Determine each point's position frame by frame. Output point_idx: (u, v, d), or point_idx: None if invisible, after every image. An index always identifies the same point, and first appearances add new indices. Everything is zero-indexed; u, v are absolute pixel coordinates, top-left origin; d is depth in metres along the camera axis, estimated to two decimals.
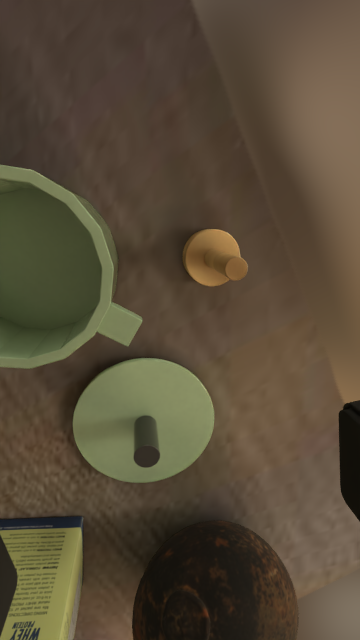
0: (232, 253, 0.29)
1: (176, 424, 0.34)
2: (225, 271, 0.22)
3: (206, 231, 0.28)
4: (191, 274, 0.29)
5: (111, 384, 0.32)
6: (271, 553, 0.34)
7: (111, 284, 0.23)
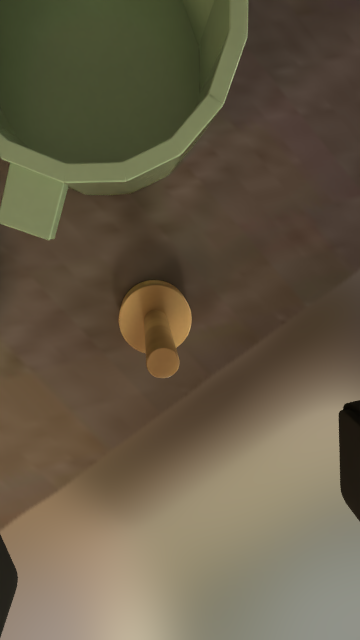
0: None
1: None
2: (156, 349, 0.15)
3: (187, 305, 0.22)
4: (129, 297, 0.22)
5: None
6: None
7: (98, 180, 0.14)
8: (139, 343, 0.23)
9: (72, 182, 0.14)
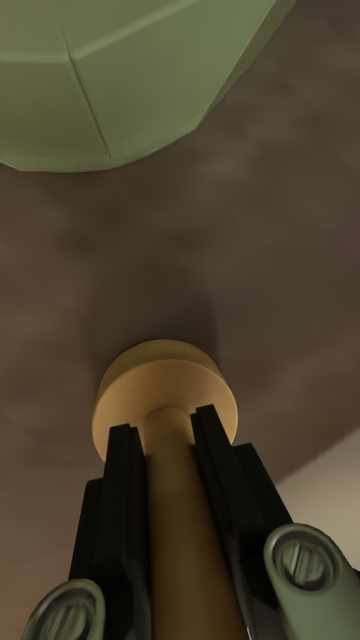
0: None
1: None
2: None
3: (230, 395, 0.11)
4: (113, 386, 0.10)
5: None
6: None
7: None
8: None
9: None
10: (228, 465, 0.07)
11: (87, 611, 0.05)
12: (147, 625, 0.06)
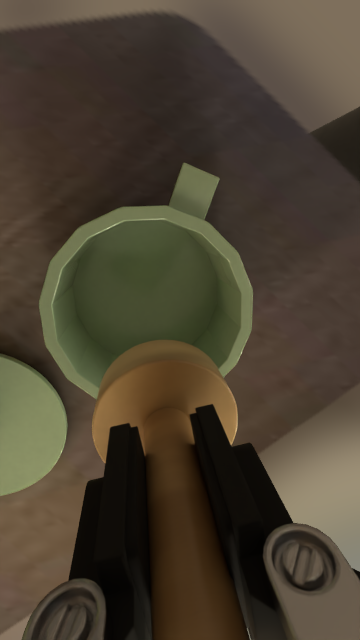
0: None
1: None
2: None
3: (230, 395, 0.11)
4: (113, 386, 0.10)
5: (24, 386, 0.28)
6: None
7: None
8: None
9: None
10: (228, 465, 0.07)
11: (88, 611, 0.05)
12: (148, 625, 0.06)
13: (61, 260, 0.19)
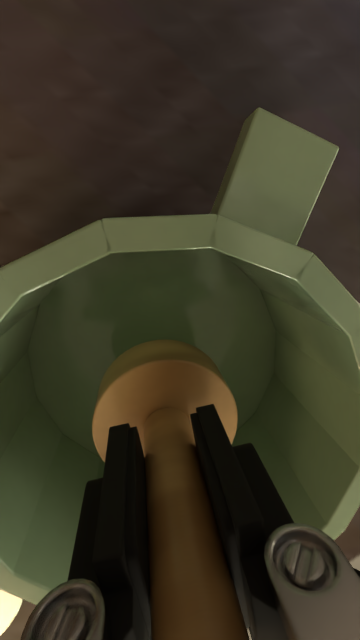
0: None
1: None
2: None
3: (230, 395, 0.11)
4: (113, 386, 0.10)
5: None
6: None
7: None
8: None
9: None
10: (229, 465, 0.07)
11: (87, 611, 0.05)
12: (147, 625, 0.06)
13: None
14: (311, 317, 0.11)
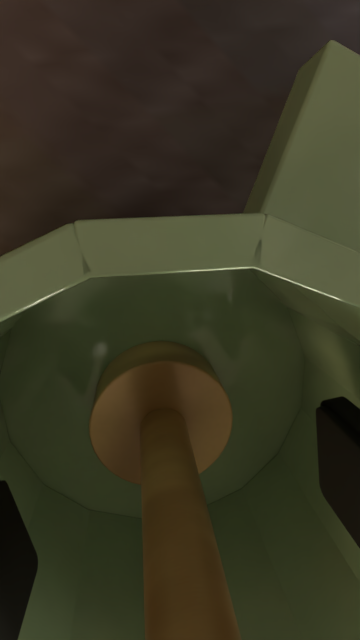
0: None
1: None
2: None
3: (225, 396, 0.11)
4: (109, 387, 0.11)
5: None
6: None
7: None
8: (131, 469, 0.12)
9: None
10: None
11: None
12: None
13: None
14: None
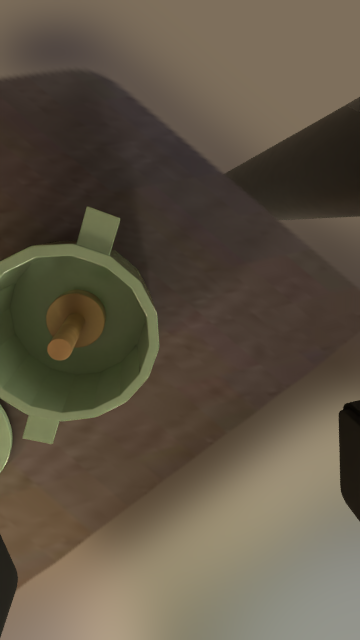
0: (85, 338, 0.29)
1: None
2: (53, 339, 0.22)
3: (99, 308, 0.29)
4: (53, 303, 0.28)
5: None
6: None
7: (80, 418, 0.26)
8: None
9: (65, 420, 0.26)
10: None
11: None
12: None
13: None
14: None
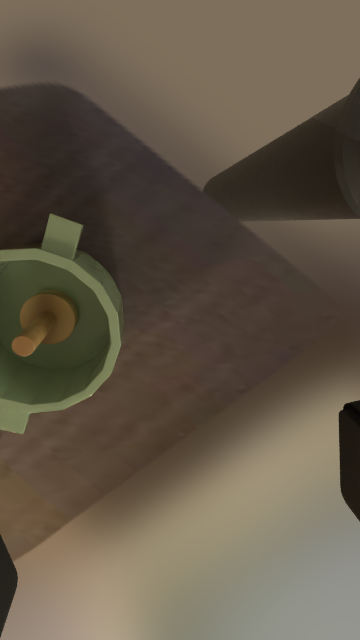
0: (57, 335, 0.31)
1: None
2: (17, 337, 0.24)
3: (70, 308, 0.30)
4: (26, 302, 0.30)
5: None
6: None
7: (47, 410, 0.28)
8: None
9: (33, 412, 0.28)
10: None
11: None
12: None
13: None
14: None
